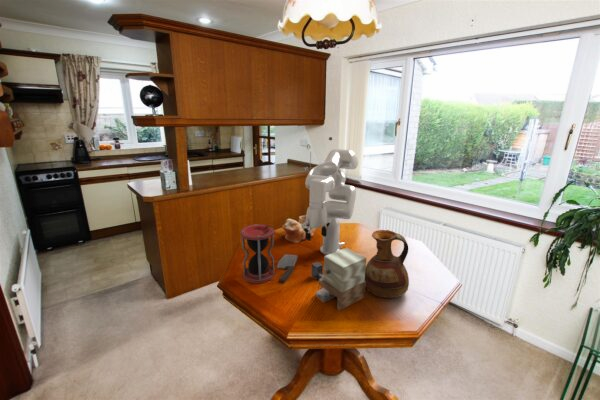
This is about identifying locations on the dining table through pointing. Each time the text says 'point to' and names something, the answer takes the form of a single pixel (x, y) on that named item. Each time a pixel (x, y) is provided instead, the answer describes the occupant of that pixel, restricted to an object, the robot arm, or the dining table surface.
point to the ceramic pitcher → (387, 267)
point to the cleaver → (287, 266)
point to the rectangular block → (324, 295)
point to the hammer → (317, 270)
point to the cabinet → (344, 276)
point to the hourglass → (258, 253)
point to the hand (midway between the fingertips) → (316, 237)
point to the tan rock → (296, 230)
